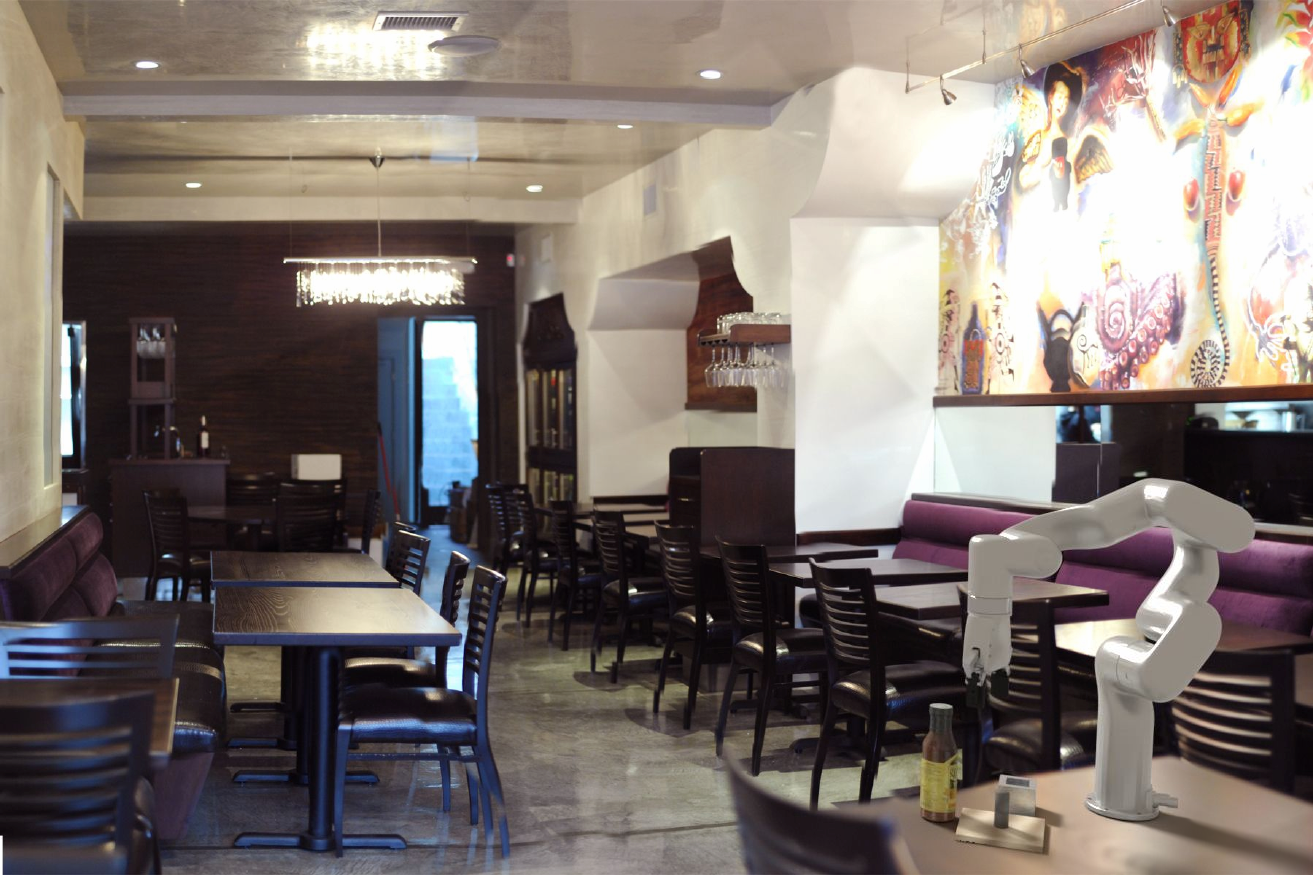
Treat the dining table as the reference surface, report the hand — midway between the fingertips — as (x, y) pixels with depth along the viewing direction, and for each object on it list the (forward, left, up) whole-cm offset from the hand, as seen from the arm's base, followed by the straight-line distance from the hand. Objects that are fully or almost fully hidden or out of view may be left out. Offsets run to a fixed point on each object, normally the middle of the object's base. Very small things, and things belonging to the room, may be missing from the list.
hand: (987, 701), depth 212 cm
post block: (-3, +6, -21) cm, 22 cm away
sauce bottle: (+8, +3, -21) cm, 22 cm away
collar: (-5, -7, -21) cm, 23 cm away
